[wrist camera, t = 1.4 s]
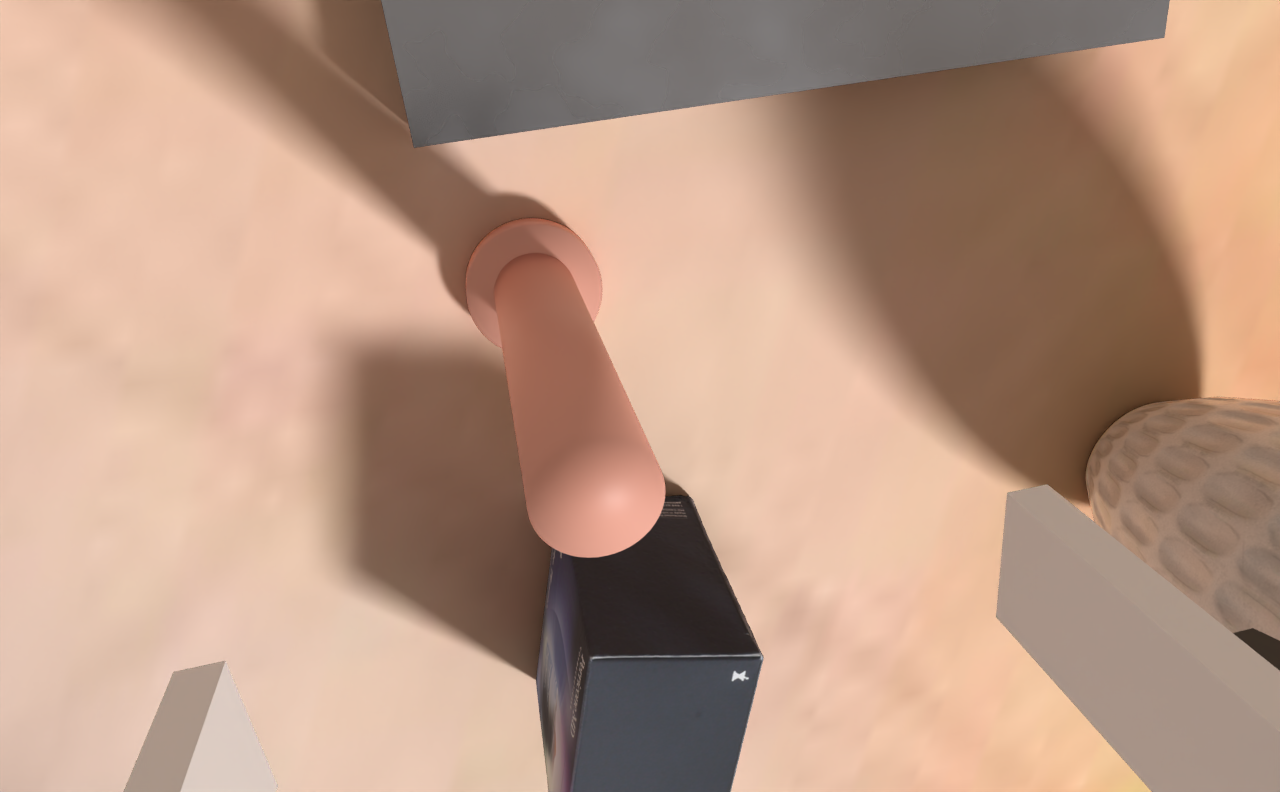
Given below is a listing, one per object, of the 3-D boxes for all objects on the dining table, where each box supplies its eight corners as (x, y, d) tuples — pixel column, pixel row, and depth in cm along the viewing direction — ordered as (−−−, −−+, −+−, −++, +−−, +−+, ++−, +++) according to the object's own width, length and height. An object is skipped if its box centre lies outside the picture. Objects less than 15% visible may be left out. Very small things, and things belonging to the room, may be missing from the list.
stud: (479, 355, 33) (502, 616, 19) (453, 229, 31) (456, 417, 17) (605, 332, 34) (717, 568, 20) (587, 208, 32) (700, 371, 18)
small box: (548, 488, 36) (582, 655, 27) (694, 491, 38) (774, 649, 29) (527, 683, 40) (551, 886, 31) (660, 678, 42) (721, 871, 33)
